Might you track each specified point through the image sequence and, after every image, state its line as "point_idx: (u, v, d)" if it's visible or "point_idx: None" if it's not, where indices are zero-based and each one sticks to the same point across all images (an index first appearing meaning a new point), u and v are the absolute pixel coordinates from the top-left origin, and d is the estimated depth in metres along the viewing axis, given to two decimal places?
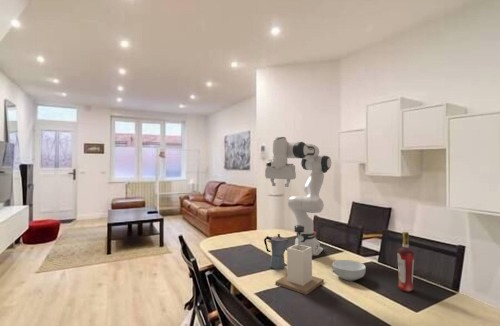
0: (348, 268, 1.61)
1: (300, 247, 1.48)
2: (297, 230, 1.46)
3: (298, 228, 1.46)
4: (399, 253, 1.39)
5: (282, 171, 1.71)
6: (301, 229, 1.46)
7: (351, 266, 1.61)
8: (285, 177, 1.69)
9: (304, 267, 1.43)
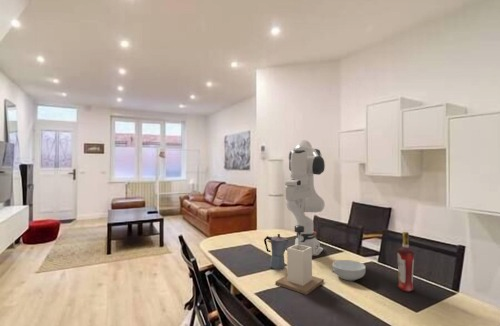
0: (348, 268, 1.61)
1: (300, 247, 1.48)
2: (297, 230, 1.46)
3: (298, 228, 1.46)
4: (399, 253, 1.39)
5: (304, 189, 1.49)
6: (301, 229, 1.46)
7: (351, 266, 1.61)
8: (307, 196, 1.51)
9: (304, 267, 1.43)
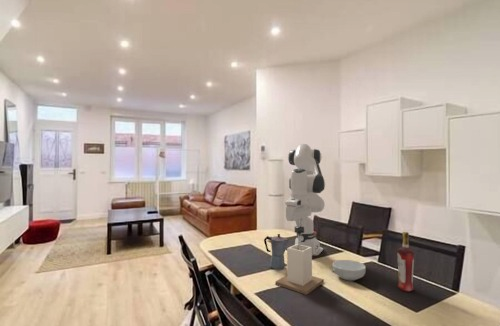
0: (348, 268, 1.61)
1: (300, 248, 1.48)
2: (297, 231, 1.46)
3: (298, 229, 1.46)
4: (399, 253, 1.39)
5: (304, 208, 1.49)
6: (301, 229, 1.46)
7: (351, 266, 1.61)
8: (307, 214, 1.51)
9: (304, 267, 1.43)
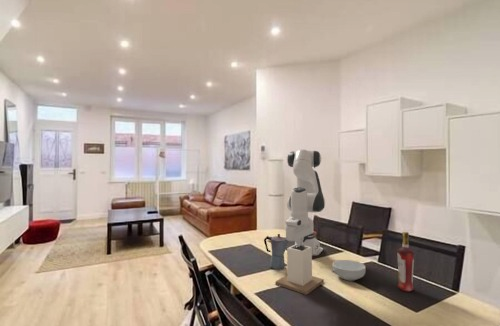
0: (348, 268, 1.61)
1: None
2: None
3: (298, 248, 1.46)
4: (399, 253, 1.39)
5: (304, 227, 1.49)
6: (301, 249, 1.46)
7: (351, 266, 1.61)
8: (307, 233, 1.51)
9: (304, 267, 1.43)
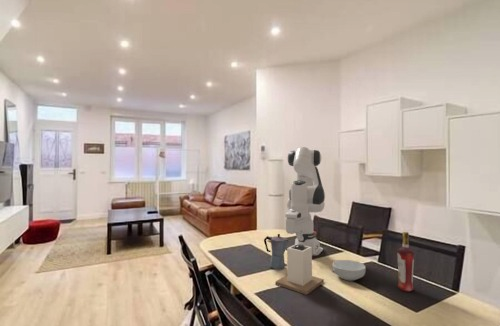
0: (348, 268, 1.61)
1: None
2: None
3: (298, 248, 1.46)
4: (399, 253, 1.39)
5: (304, 220, 1.49)
6: (301, 249, 1.46)
7: (351, 266, 1.61)
8: (307, 226, 1.51)
9: (304, 267, 1.43)
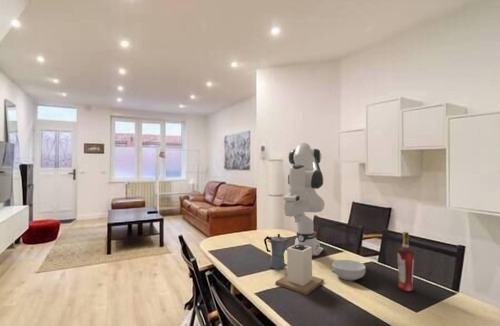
0: (348, 268, 1.61)
1: None
2: None
3: (298, 248, 1.46)
4: (399, 253, 1.39)
5: (302, 204, 1.51)
6: (301, 249, 1.46)
7: (351, 266, 1.61)
8: (305, 210, 1.53)
9: (304, 267, 1.43)
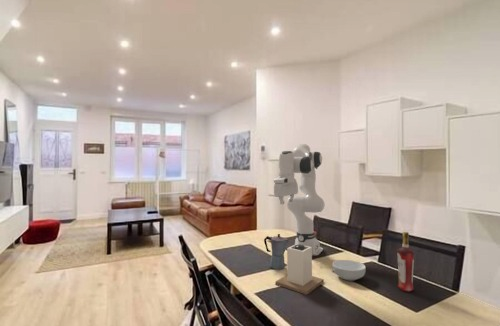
0: (348, 268, 1.61)
1: None
2: None
3: (298, 248, 1.46)
4: (399, 253, 1.39)
5: (291, 187, 1.66)
6: (301, 249, 1.46)
7: (351, 266, 1.61)
8: (293, 192, 1.67)
9: (304, 267, 1.43)
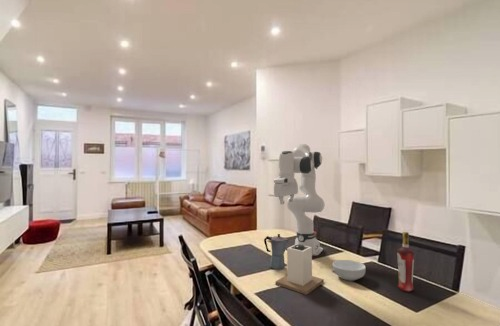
0: (348, 268, 1.61)
1: None
2: None
3: (298, 248, 1.46)
4: (399, 253, 1.39)
5: (291, 187, 1.66)
6: (301, 249, 1.46)
7: (351, 266, 1.61)
8: (293, 192, 1.67)
9: (304, 267, 1.43)
